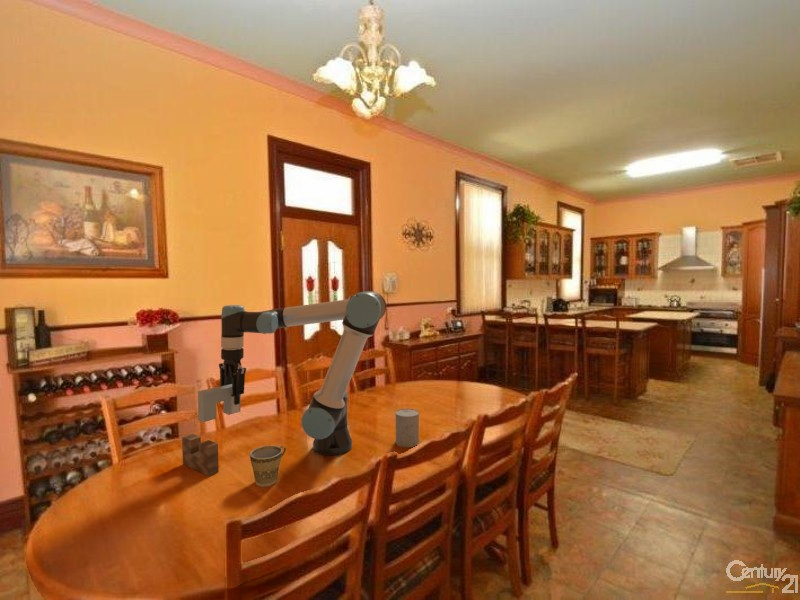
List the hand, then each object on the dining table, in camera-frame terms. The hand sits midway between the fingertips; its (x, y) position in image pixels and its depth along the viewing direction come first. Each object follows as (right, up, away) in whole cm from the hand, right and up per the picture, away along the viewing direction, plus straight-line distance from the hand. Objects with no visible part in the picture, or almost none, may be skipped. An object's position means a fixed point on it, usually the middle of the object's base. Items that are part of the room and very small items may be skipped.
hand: (231, 411), depth 146 cm
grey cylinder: (+64, -17, +16) cm, 68 cm away
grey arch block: (-3, 0, -4) cm, 5 cm away
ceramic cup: (+19, -19, -14) cm, 30 cm away
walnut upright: (-8, -18, -7) cm, 21 cm away
